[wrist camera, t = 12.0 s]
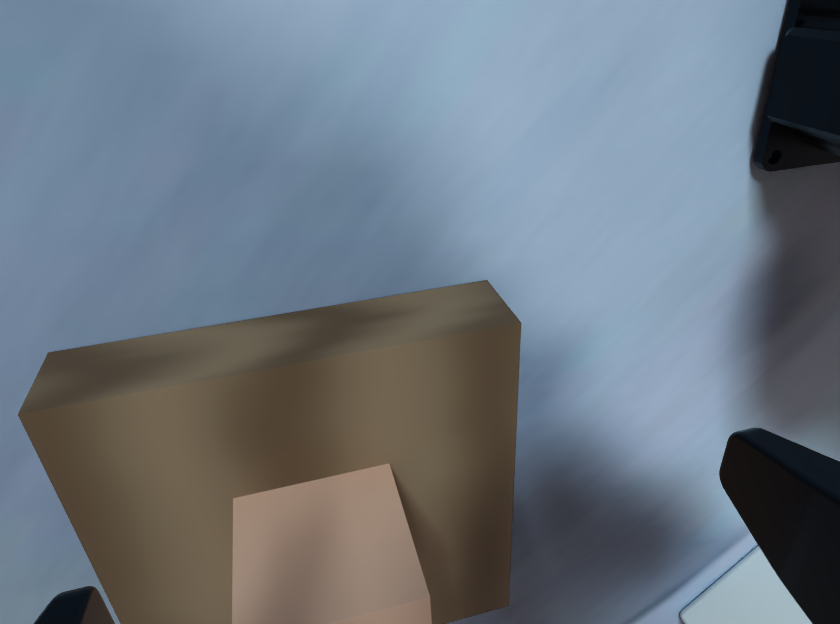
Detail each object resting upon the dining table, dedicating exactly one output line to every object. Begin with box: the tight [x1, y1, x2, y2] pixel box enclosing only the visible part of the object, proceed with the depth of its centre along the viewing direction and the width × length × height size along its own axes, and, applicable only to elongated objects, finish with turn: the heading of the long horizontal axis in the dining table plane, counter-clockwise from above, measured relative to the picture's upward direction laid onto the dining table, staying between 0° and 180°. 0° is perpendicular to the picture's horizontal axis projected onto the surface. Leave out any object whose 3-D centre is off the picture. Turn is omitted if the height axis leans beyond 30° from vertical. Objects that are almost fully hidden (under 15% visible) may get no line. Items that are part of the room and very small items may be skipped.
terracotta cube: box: [232, 464, 432, 624], centre depth 19 cm, size 5×5×5 cm
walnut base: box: [18, 280, 521, 624], centre depth 22 cm, size 14×14×3 cm
